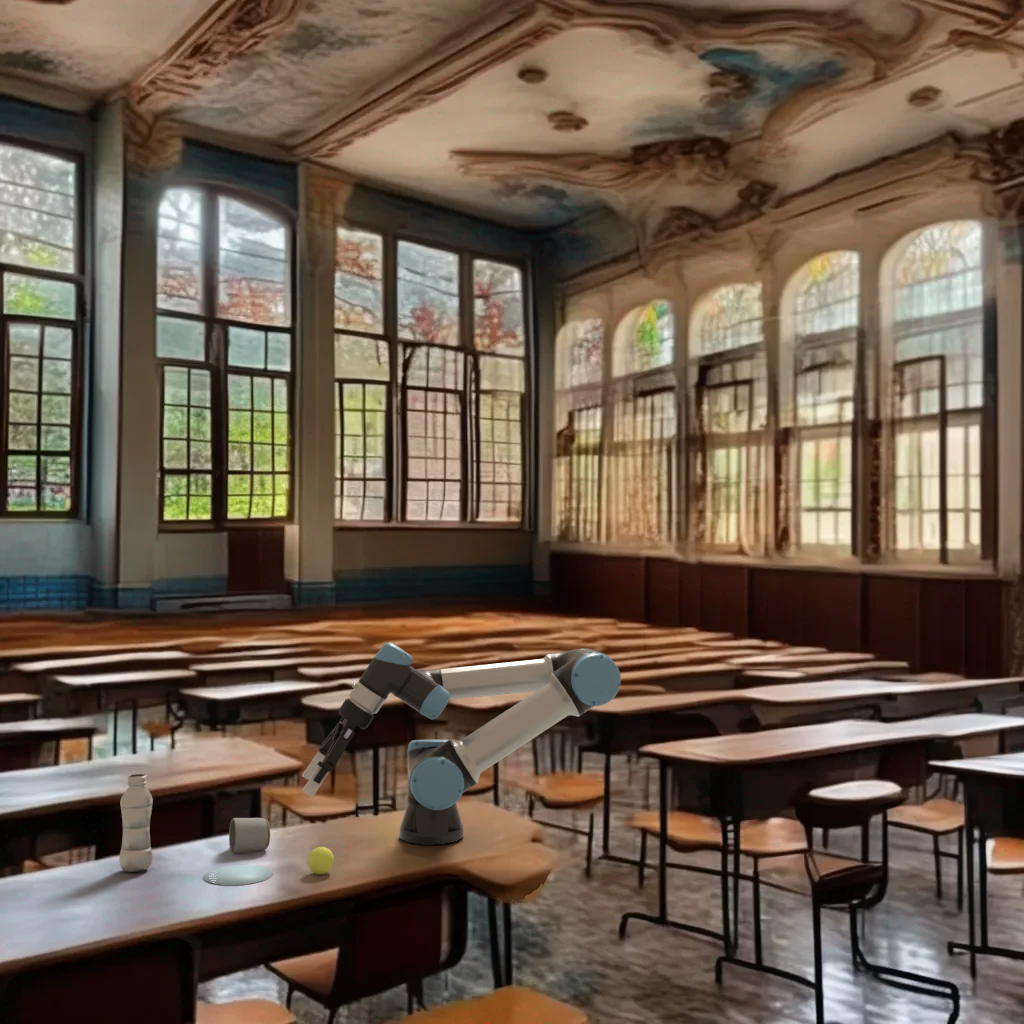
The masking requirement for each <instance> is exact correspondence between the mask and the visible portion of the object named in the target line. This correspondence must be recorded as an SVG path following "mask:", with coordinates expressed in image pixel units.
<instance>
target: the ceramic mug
mask: <svg viewBox="0 0 1024 1024" xmlns="http://www.w3.org/2000/svg"><path fill="white" fill-rule="evenodd" d="M228 830H229V831H228V832H229V833H228V834H229V835H228V843H229V845H228V846H229V850H230V853H231V854H232V853H233V854H232V855H234V854H235V855H236V854H244V853H245V852H246V853H253V852H255V851H256V852H261V851H265V850H267V849H268V848H269V846H270V841H271V825H270V822H269V820H268V819H266V818H262V817H233V818H231V821H230V824H229V829H228Z"/></svg>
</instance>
